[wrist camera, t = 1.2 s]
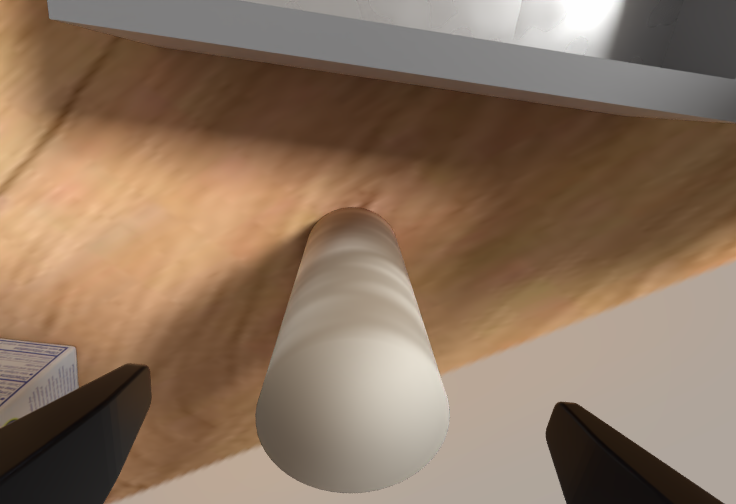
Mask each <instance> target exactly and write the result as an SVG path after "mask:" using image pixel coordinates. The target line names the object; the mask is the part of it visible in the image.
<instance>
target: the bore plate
mask: <svg viewBox="0 0 736 504" xmlns="http://www.w3.org/2000/svg"><path fill="white" fill-rule="evenodd" d="M241 1H247V2H253V3H259V4H266V5H272V6H278V7H284V8H291V9H297V10H303V11H309V12H316V13H322V14H328V15H334V16H341V17H347V18H353V19H359V20H366V21H372V22H378V23H384V24H391V25H397V26H403V27H409V28H416V29H422V30H428V31H434V32H441V33H447V34H453V35H459V36H466V37H472V38H478V39H485V40H491V41H497V42H503V43H510V44H516V45H522V46H528V47H535V48H541V49H547V50H553V51H560V52H566V53H572V54H578V55H585V56H591V57H597V58H603V59H610V60H616V61H622V62H628V63H635V64H641V65H647V66H653V67H661V64H662V61H663V58H664V56H665V53H666V50H667V47H668V44H669V41H670V38H671V36H672V33H673V30H674V27H675V24H676V21H677V18H678V16H679V13H680V10H681V7H682V4H683V1H684V0H241Z"/></svg>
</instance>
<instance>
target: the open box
mask: <svg viewBox="0 0 736 504" xmlns="http://www.w3.org/2000/svg"><path fill="white" fill-rule="evenodd" d="M47 4H48V12H49V19H52V20H56V21H59V22H63V23H67V24H71V25H75V26H79V27H82V28H86V29H90V30H94V31H98V32H102V33H106V34H109V35H113V36H117V37H121V38H125V39H129V40H132V41H136V42H140V43H144V44H148V45H152V46H156V47H163V48H170V49H176V50H183V51H190V52H197V53H203V54H210V55H217V56H223V57H230V58H237V59H244V60H250V61H257V62H264V63H271V64H277V65H284V66H291V67H298V68H304V69H311V70H318V71H325V72H331V73H338V74H345V75H352V76H358V77H365V78H372V79H379V80H385V81H392V82H399V83H405V84H412V85H419V86H426V87H432V88H439V89H446V90H453V91H459V92H466V93H473V94H480V95H486V96H493V97H500V98H507V99H513V100H520V101H527V102H534V103H540V104H547V105H554V106H561V107H567V108H574V109H581V110H587V111H594V112H601V113H608V114H614V115H621V116H631V117H646V118H661V119H675V120H690V121H705V122H719V123H734V124H736V0H684V1H683V4H682V7H681V10H680V13H679V16H678V18H677V21H676V24H675V27H674V30H673V33H672V36H671V38H670V41H669V44H668V47H667V50H666V53H665V56H664V58H663V61H662V64H661V67H653V66H647V65H641V64H635V63H628V62H622V61H616V60H610V59H603V58H597V57H591V56H585V55H578V54H572V53H566V52H560V51H553V50H547V49H541V48H535V47H528V46H522V45H516V44H510V43H503V42H497V41H491V40H485V39H478V38H472V37H466V36H459V35H453V34H447V33H441V32H434V31H428V30H422V29H416V28H409V27H403V26H397V25H391V24H384V23H378V22H372V21H366V20H359V19H353V18H347V17H341V16H334V15H328V14H322V13H316V12H309V11H303V10H297V9H291V8H284V7H278V6H272V5H266V4H259V3H253V2H247V1H241V0H47Z"/></svg>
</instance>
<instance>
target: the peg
mask: <svg viewBox="0 0 736 504" xmlns="http://www.w3.org/2000/svg"><path fill="white" fill-rule="evenodd" d="M449 419H450V409H449V402H448V398H447V395H446V392H445V389H444V386H443V382H442V379H441V376H440V373H439V370H438V367H437V364H436V361H435V357H434V354H433V351H432V348H431V345H430V342H429V339H428V335H427V332H426V329H425V326H424V323H423V320H422V317H421V314H420V310H419V307H418V304H417V301H416V298H415V295H414V292H413V289H412V285H411V282H410V279H409V276H408V273H407V270H406V267H405V263H404V260H403V257H402V254H401V251H400V248H399V245H398V242H397V238H396V235H395V233H394V231H393V229H392V228H391V226H390V225H389V224H388V223H387V222H386V220H384V219H383V218H382V217H381V216H379V215H378V214H376V213H374V212H372V211H370V210H367V209H363V208H357V207H348V208H342V209H338V210H335V211H332V212H330V213H328V214H327V215H325V216H324V217H323V218H321V219H320V220H319V221H318V222H317V223H316V225H315V226H314V227H313V229H312V230H311V232H310V235H309V237H308V240H307V244H306V247H305V250H304V253H303V257H302V260H301V263H300V266H299V270H298V273H297V276H296V279H295V283H294V286H293V289H292V292H291V296H290V299H289V302H288V305H287V309H286V312H285V315H284V318H283V322H282V325H281V328H280V331H279V335H278V338H277V341H276V344H275V348H274V351H273V354H272V357H271V360H270V364H269V367H268V370H267V373H266V377H265V380H264V383H263V386H262V390H261V393H260V396H259V399H258V403H257V408H256V428H257V433H258V437H259V439H260V442H261V445H262V446H263V448H264V450H265V452H266V453H267V455H268V456H269V457H270V458H271V460H272V461H273V462H274V463H275V464H276V465H277V466H278V467H279V468H280V469H281V470H282V471H284V472H285V473H286V474H288V475H289V476H291V477H292V478H294V479H296V480H298V481H300V482H302V483H304V484H306V485H309V486H312V487H315V488H318V489H321V490H326V491H331V492H339V493H362V492H370V491H375V490H380V489H384V488H387V487H390V486H393V485H395V484H397V483H400V482H402V481H404V480H406V479H408V478H410V477H411V476H413V475H414V474H416V473H417V472H419V471H420V470H421V469H422V468H423V467H425V466H426V465H427V464H428V463H429V462H430V460H432V459H433V457H434V456H435V454H436V453H437V452H438V451H439V449H440V447H441V446H442V444H443V441H444V440H445V437H446V434H447V431H448V426H449Z"/></svg>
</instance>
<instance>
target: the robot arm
mask: <svg viewBox="0 0 736 504" xmlns="http://www.w3.org/2000/svg"><path fill="white" fill-rule="evenodd" d="M150 404H151V379H150V369H149V367H148V366H147V365H142V364H125V365H123V366H121V367H119V368H117V369H115V370H113V371H111V372H109V373H107V374H105V375H104V376H102V377H100V378H98V379H96V380H94V381H92V382H90V383H88V384H86V385H84V386H82V387H80V388H78V389H76V390H74V391H72V392H70V393H68V394H66V395H64V396H62V397H60V398H58V399H56V400H54V401H53V402H51V403H49V404H47V405H45V406H43V407H41V408H39V409H37V410H35V411H33V412H31V413H29V414H27V415H25V416H23V417H21V418H19V419H17V420H15V421H13V422H11V423H9V424H7V425H5V426H3V427H2V428H0V504H103V503H104V501H105V499H106V498H107V496H108V494H109V492H110V491H111V489H112V487H113V485H114V483H115V482H116V480H117V478H118V476H119V474H120V472H121V470H122V467H123V465H124V463H125V461H126V459H127V456H128V454H129V452H130V450H131V447H132V445H133V443H134V441H135V439H136V436H137V434H138V432H139V430H140V427H141V425H142V423H143V421H144V418H145V416H146V414H147V412H148V410H149V407H150ZM546 441H547V444H548V447H549V450H550V453H551V457H552V460H553V463H554V466H555V469H556V472H557V475H558V479H559V482H560V485H561V488H562V491H563V495H564V497H565V500H566V503H567V504H724V503H723V502H721V501H720V500H718V499H716V498H715V497H714V496H712V495H711V494H709V493H708V492H706V491H705V490H703V489H702V488H701V487H699V486H698V485H696V484H695V483H693V482H692V481H690V480H689V479H687V478H686V477H684V476H683V475H681V474H680V473H678V472H677V471H675V470H674V469H673V468H671V467H670V466H668V465H667V464H665V463H664V462H662V461H661V460H659V459H658V458H656V457H655V456H653V455H652V454H650V453H649V452H647V451H646V450H645V449H643V448H642V447H640V446H639V445H637V444H636V443H634V442H633V441H631V440H630V439H628V438H627V437H625V436H624V435H622V434H621V433H620V432H618V431H617V430H615V429H614V428H612V427H611V426H609V425H608V424H606V423H605V422H603V421H602V420H600V419H599V418H597V417H596V416H594V415H593V414H592V413H590V412H588V411H587V410H585V409H584V408H583V407H581V406H580V405H578V404H576V403H570V402H558V403H557V404H556V405H555V407H554V409H553V412H552V414H551V417H550V420H549V423H548V426H547V428H546Z"/></svg>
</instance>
